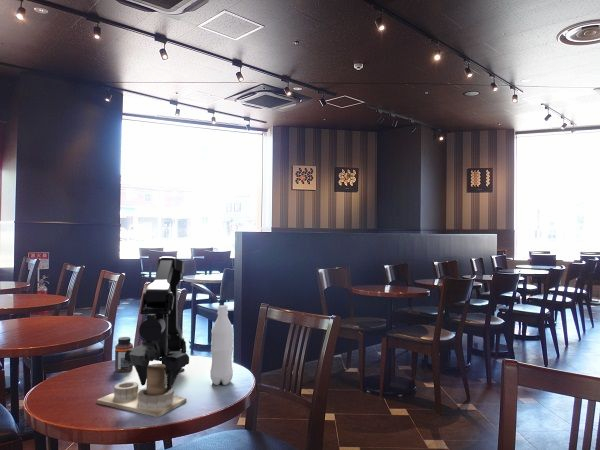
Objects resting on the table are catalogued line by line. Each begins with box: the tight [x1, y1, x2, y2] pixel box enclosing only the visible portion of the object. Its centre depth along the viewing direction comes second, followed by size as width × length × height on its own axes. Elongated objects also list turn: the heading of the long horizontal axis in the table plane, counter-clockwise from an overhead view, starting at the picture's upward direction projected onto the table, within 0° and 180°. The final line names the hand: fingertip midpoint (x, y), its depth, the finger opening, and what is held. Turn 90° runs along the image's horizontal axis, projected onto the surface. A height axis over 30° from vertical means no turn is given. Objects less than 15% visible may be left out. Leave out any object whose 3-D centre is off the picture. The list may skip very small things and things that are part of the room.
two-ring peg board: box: [96, 381, 187, 418], centre depth 129 cm, size 12×22×4 cm, turn 66°
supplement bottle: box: [114, 336, 134, 373], centre depth 158 cm, size 6×6×11 cm
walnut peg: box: [146, 363, 166, 396], centre depth 127 cm, size 5×5×10 cm
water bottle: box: [209, 304, 234, 386], centre depth 146 cm, size 7×7×25 cm
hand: (156, 387), depth 127 cm, fingers open, 9 cm apart
